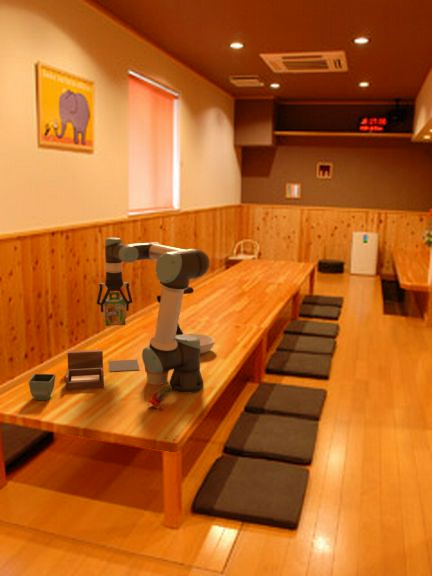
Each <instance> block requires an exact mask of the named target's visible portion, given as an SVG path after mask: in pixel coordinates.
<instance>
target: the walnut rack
mask: <svg viewBox="0 0 432 576" xmlns="http://www.w3.org/2000/svg"><path fill="white" fill-rule="evenodd" d="M66 355H67V369H66V372H65V390H66V391H81V390H82V391H83V390H96V389H97V390H98V389H105V379H104V373H105V372H104V357H103V356H104V354H103V349H94V350H93V349H92V350H89V349H88V350H73V351H72V350H71V351H67V354H66ZM85 375H99V380H94V381H77V382H70V379H71V377H72V376H85Z"/></svg>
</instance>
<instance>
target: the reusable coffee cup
mask: <svg viewBox="0 0 432 576" xmlns="http://www.w3.org/2000/svg"><path fill="white" fill-rule="evenodd" d="M147 347H149V345H148V346H147ZM145 348H146V347H145ZM145 348H143V349H145ZM144 370H145V373H146V379H147V382H148V383H149V384H150V385H163V384H166V383H167V382H168V379H169V378H168V377H169V376H168V375H169V371H170V370H169V371H165V372H162V373H157V374H153V373H151V372H149V371H148V370H147V368H146V367H145V366H144Z"/></svg>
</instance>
